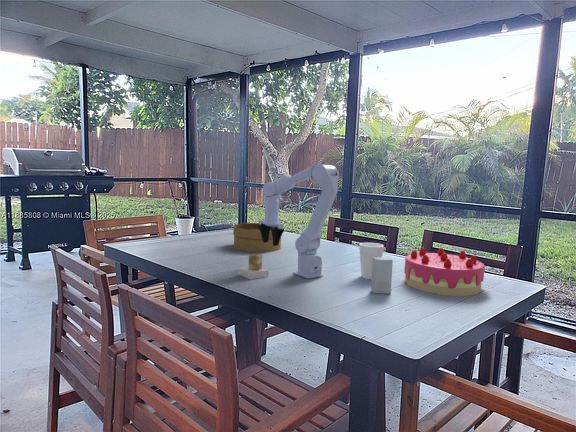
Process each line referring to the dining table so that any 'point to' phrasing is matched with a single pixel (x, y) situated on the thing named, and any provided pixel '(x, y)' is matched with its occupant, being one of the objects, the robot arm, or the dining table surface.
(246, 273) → the tile block
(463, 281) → the cake
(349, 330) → the dining table surface
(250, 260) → the oak block
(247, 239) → the steamer basket
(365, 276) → the foam cup
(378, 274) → the skincare box
